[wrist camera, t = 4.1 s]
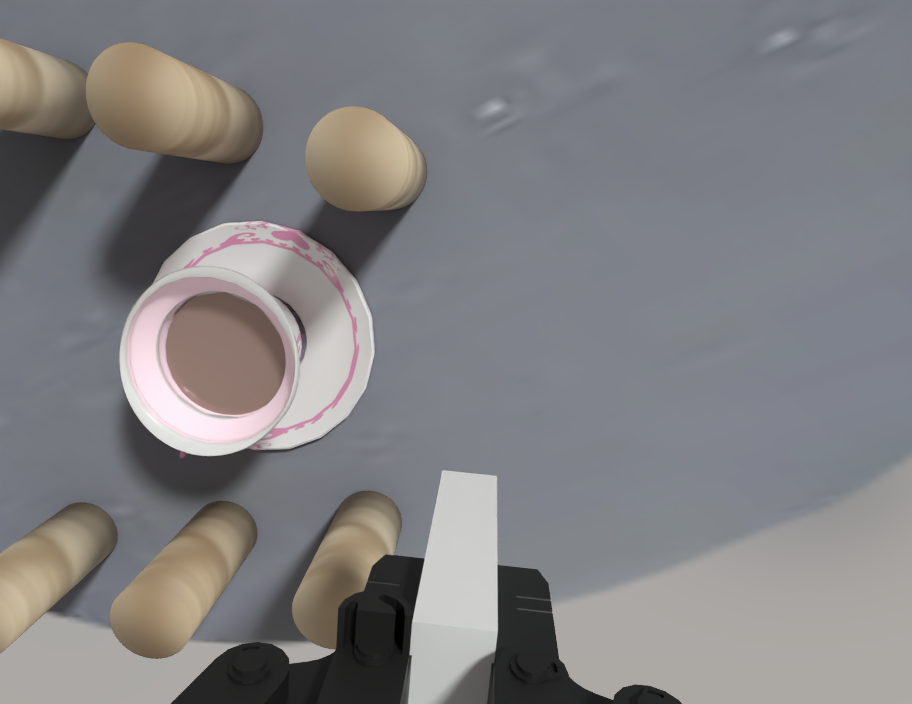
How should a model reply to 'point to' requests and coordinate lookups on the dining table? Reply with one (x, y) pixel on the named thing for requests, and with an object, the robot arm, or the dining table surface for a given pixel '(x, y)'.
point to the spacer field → (219, 523)
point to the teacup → (246, 342)
